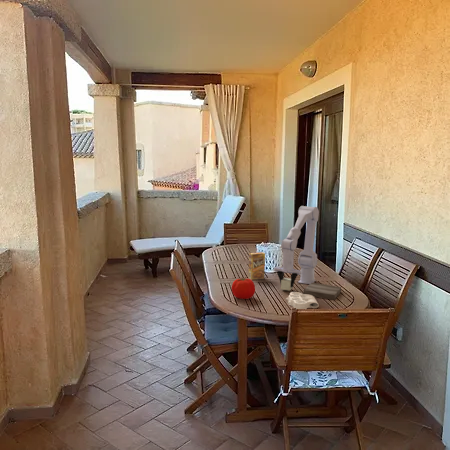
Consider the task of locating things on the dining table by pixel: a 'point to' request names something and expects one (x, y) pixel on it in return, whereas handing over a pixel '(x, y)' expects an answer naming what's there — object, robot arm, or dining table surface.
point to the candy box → (256, 265)
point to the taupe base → (322, 291)
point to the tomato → (243, 288)
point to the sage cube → (286, 284)
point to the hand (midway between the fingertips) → (286, 285)
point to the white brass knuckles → (302, 300)
